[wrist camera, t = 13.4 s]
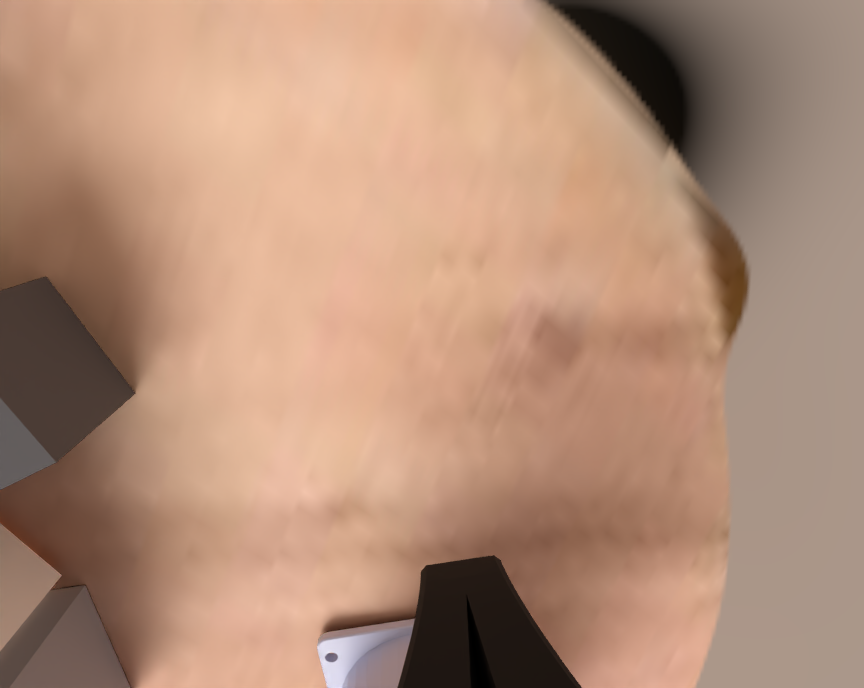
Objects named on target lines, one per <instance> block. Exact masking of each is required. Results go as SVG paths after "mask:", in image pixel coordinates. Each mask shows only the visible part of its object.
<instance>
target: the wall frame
mask: <svg viewBox="0 0 864 688" xmlns="http://www.w3.org/2000/svg"><path fill="white" fill-rule="evenodd" d="M0 688H131V687H130V685H129V683H128V681H127V678H126V676H125V674H124V672H123V669H122V667H121V665H120V662H119V660H118V658H117V656H116V653H115V651H114V649H113V647H112V644H111V642H110V640H109V638H108V635H107V633H106V631H105V629H104V626H103V624H102V622H101V620H100V617H99V615H98V613H97V610H96V608H95V606H94V604H93V601H92V599H91V597H90V595H89V592H88V590H87V588H86V586H85V585H82V586H76V587H69V588H62V589H56V590H50V591H49V592H48V593H47V594H46V596H45V597H44V598H43V599H42V601H41V602H40V603H39V604H38V605H37V607H36V608H35V609H34V610H33V612H32V613H31V614H30V615H29V617H28V618H27V619H26V620H25V621H24V623H23V624H22V625H21V626H20V628H19V629H18V630H17V631H16V632H15V634H14V635H13V636H12V637H11V639H10V640H9V641H8V642H7V644H6V645H5V646H4V647H3V648H2V650H1V651H0Z"/></svg>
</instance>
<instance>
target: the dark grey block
mask: <svg viewBox="0 0 864 688" xmlns="http://www.w3.org/2000/svg"><path fill="white" fill-rule="evenodd" d="M134 394H135V392H134V391H133V390H132V388H131V387H130V386H129V384H128V383H127V382H126V380H125V379H124V378H123V377H122V375H121V374H120V373H119V371H118V370H117V369H116V367H115V366H114V365H113V363H112V362H111V361H110V359H109V358H108V357H107V356H106V354H105V353H104V352H103V350H102V349H101V348H100V346H99V345H98V344H97V342H96V341H95V340H94V339H93V337H92V336H91V335H90V333H89V332H88V331H87V329H86V328H85V327H84V325H83V324H82V323H81V321H80V320H79V319H78V318H77V316H76V315H75V314H74V312H73V311H72V310H71V308H70V307H69V306H68V304H67V303H66V302H65V300H64V299H63V298H62V297H61V295H60V294H59V293H58V291H57V290H56V289H55V287H54V286H53V285H52V283H51V282H50V281H49V280H48V278H47V277H43V278H40V279H37V280H33V281H30V282H27V283H24V284H21V285H17V286H14V287H11V288H8V289H5V290H2V291H0V490H1V489H3V488H5V487H7V486H9V485H11V484H13V483H15V482H17V481H20V480H22V479H24V478H26V477H28V476H30V475H32V474H34V473H36V472H38V471H40V470H42V469H44V468H46V467H48V466H50V465H52V464H54V463H56V462H57V461H59V460H60V459H61V458H62V457H63V456H64V455H65V454H67V453H68V452H69V451H70V450H71V449H72V448H73V447H75V446H76V445H77V444H78V443H79V442H80V441H82V440H83V439H84V438H85V437H86V436H87V435H88V434H90V433H91V432H92V431H93V430H94V429H95V428H96V427H98V426H99V425H100V424H101V423H102V422H103V421H104V420H106V419H107V418H108V417H109V416H110V415H111V414H112V413H114V412H115V411H116V410H117V409H118V408H119V407H120V406H122V405H123V404H124V403H125V402H126V401H127V400H128V399H130V398H131V397H132V396H133V395H134Z"/></svg>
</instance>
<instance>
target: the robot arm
mask: <svg viewBox="0 0 864 688" xmlns="http://www.w3.org/2000/svg"><path fill="white" fill-rule="evenodd" d="M317 651H318V654H319V658H320V662H321V666H322V669H323V673H324V677H325V681H326V685H327V688H582V687H581V686H580V685H579V683H578V682H577V681H576V679H575V678H574V677H573V675H572V674H571V672H570V671H569V670H568V668H567V667H566V666H565V664H564V663H563V662H562V660H561V659H560V657H559V656H558V654H557V653H556V652H555V650H554V649H553V647H552V646H551V644H550V643H549V642H548V640H547V639H546V637H545V636H544V634H543V633H542V632H541V630H540V629H539V627H538V626H537V624H536V623H535V621H534V619H533V618H532V616H531V615H530V613H529V612H528V610H527V608H526V607H525V605H524V603H523V602H522V600H521V599H520V597H519V595H518V593H517V592H516V590H515V588H514V586H513V585H512V583H511V581H510V579H509V577H508V575H507V573H506V571H505V569H504V567H503V565H502V563H501V560H500V559H498V558H497V557H495V556H494V555H493V556H486V557H480V558H473V559H466V560H460V561H453V562H446V563H440V564H433V565H427V566H426V567H425V568H424V569H423V570H422V571H421V583H420V592H419V599H418V605H417V611H416V616H415V619H409V620H402V621H396V622H389V623H383V624H376V625H370V626H363V627H357V628H350V629H344V630H337V631H331V632H326V633H323V634H322V635H321V636H320V637H319V639H318V644H317ZM331 653H334V654H331Z"/></svg>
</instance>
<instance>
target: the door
mask: <svg viewBox="0 0 864 688" xmlns="http://www.w3.org/2000/svg"><path fill="white" fill-rule="evenodd" d="M61 576H62V575H61V574H60V573H59V572H57V571H56V570H55V569H54V568H53V567H52V566H50V565H49V564H48V563H47V562H46V561H44V560H43V559H42V558H41V557H40V556H38V555H37V554H36V553H35V552H34V551H33V550H31V549H30V548H29V547H28V546H27V545H25V544H24V543H23V542H22V541H21V540H20V539H18V538H17V537H16V536H15V535H14V534H12V533H11V532H10V531H9V530H8V529H7V528H5V527H4V526H3V525H2V524H1V523H0V651H1V650H2V648H3V647H4V646H5V645H6V644H7V642H8V641H9V640H10V639H11V637H12V636H13V635H14V634H15V632H16V631H17V630H18V629H19V628H20V626H21V625H22V624H23V623H24V621H25V620H26V619H27V618H28V617H29V615H30V614H31V613H32V612H33V610H34V609H35V608H36V607H37V605H38V604H39V603H40V602H41V601H42V599H43V598H44V597H45V596H46V594H47V593H48V592H49V591H50V589H51V588H52V587H53V586H54V585H55V583H56V582H57V581H58V580H59V578H60V577H61Z"/></svg>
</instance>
